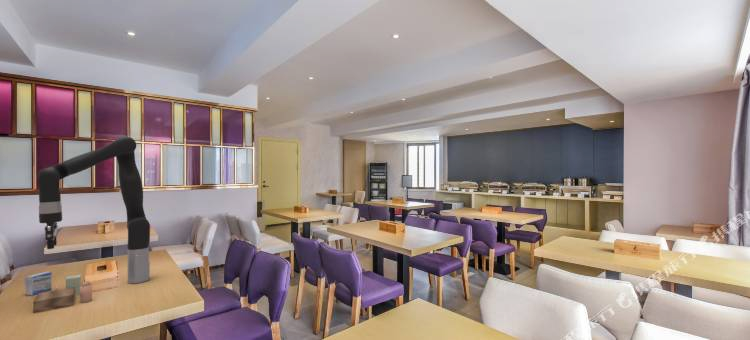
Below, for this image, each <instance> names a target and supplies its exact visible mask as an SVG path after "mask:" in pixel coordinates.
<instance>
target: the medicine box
mask: <svg viewBox="0 0 750 340" xmlns="http://www.w3.org/2000/svg"><path fill="white" fill-rule="evenodd" d="M24 287H25V288H24V289H25V290H24V294H25V296H37V294H38V293H42V292H48V291H52V272H51V271H43V272H39V273H35V274H31V275H28V276H25V277H24Z"/></svg>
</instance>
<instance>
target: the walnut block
mask: <svg viewBox="0 0 750 340" xmlns="http://www.w3.org/2000/svg"><path fill="white" fill-rule="evenodd" d="M75 300H76V295H75V287H72V288H66V287H65V288H62V289H57V290H56V289H55V290H49V291H45V292H42V293H38V294H36V295H35V298H34V300H33V302H32V303H33V309H32V310H33V311H32V312H33V314H36V313H42V312H47V311H51V310H56V309H58V310H59V309H62V308H69V307H73V306H74V304H75Z"/></svg>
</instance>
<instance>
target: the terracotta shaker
mask: <svg viewBox="0 0 750 340" xmlns="http://www.w3.org/2000/svg"><path fill="white" fill-rule="evenodd" d="M91 301H93V284H92V283H91V281H89V280H85V281H83V282H81V286H80V294H79V303H80V304H85V303H89V302H91Z"/></svg>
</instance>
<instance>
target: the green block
mask: <svg viewBox="0 0 750 340" xmlns="http://www.w3.org/2000/svg"><path fill="white" fill-rule="evenodd" d="M81 284H82V274H75V275H68V276H66V277H65V289H66V288H72V287H75V296H77V295H79V296H80V286H81Z"/></svg>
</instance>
